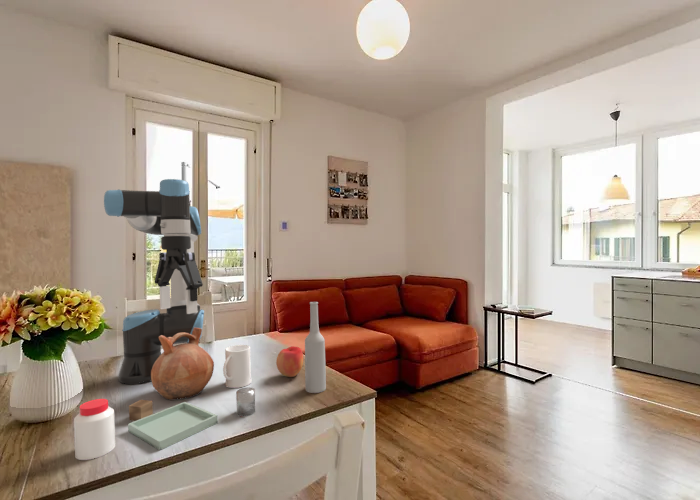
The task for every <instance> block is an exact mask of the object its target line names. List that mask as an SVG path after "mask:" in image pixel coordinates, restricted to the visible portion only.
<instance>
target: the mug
mask: <svg viewBox="0 0 700 500" xmlns="http://www.w3.org/2000/svg"><path fill="white" fill-rule="evenodd" d="M224 350H225V352H224V354H225V355H224V357H225V361H224V364H223V368H222V371H223V376H224V378H225V386H226V387H227V388H230V389H239V388H240V389H241V388H246V387H248V386H249V385H251V384H252V382H253V381H252V380H253V379H252V375H251V374H252V373H251V372H252V371H251V369H252V367H251V366H252V365H251V346H249V345H247V344H238V345H237V344H236V345H235V344H234V345H230V346H228V347H225V349H224Z"/></svg>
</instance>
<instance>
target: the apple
mask: <svg viewBox="0 0 700 500" xmlns="http://www.w3.org/2000/svg"><path fill="white" fill-rule="evenodd" d="M304 361H305V358H304V353H303V351H302V349H301V347H298V346H289V347H287V348H282V349H281V350H280V351H279V352H278V354H277V356H276V362H275V363H276V368H277V370H278V372H279V373H280V374H281V375H283V376H284V377H287V378H294V377H296V376H297V375H298V374H299V373H300V372H301V370H302V368H303V365H304Z"/></svg>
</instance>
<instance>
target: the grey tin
mask: <svg viewBox="0 0 700 500" xmlns="http://www.w3.org/2000/svg"><path fill="white" fill-rule="evenodd" d="M235 395H236V397H235V398H236V415H237V416H239V417H249V416H251V415H253V414H255V413H256V390H255V388H253V387H250V386H249V387H248V386H246V387H240V389H239V388H238V389H237V390H236V394H235Z"/></svg>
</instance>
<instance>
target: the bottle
mask: <svg viewBox="0 0 700 500" xmlns="http://www.w3.org/2000/svg"><path fill="white" fill-rule="evenodd" d="M318 304H319V302H318V301H310V302H309V305H310V306H309V307H310V308H309V309H310V310H309V311H310V313H309V314H310V320H309V321H310V323H309V327H310V328H309V333H308V335H307V336H306V337H305V339H304V372H305V374H304V375H305V376H304V384H305V387H304V388H305V391H306V392H307V393H310V394H311V393H312V394H318V393H323V392H324V391H326V390H327V384H326V383H327V382H326V381H327V376H326V375H327V373H326V372H327V371H326V370H327V369H326V342H325V341H326V340H325V338H324V336H323V335H322V334H321V332H320V328H319V305H318Z"/></svg>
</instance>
